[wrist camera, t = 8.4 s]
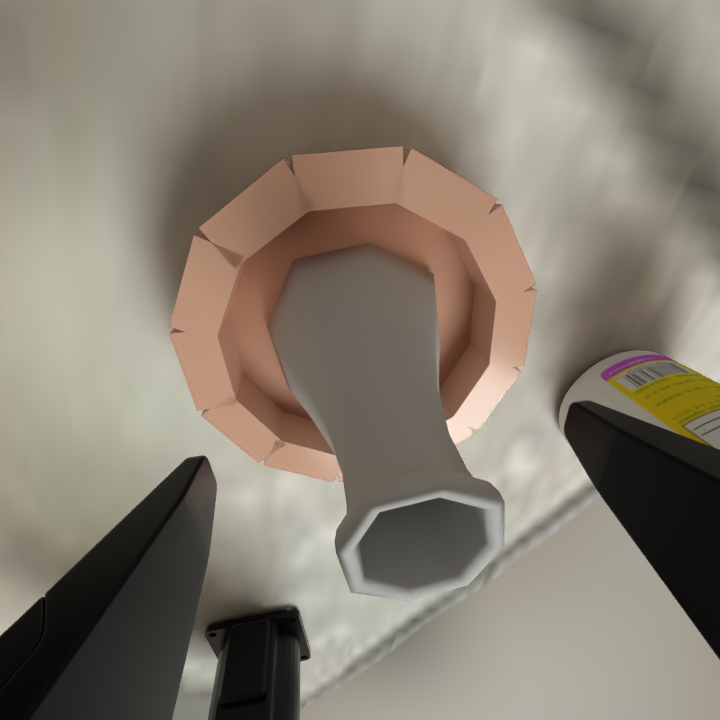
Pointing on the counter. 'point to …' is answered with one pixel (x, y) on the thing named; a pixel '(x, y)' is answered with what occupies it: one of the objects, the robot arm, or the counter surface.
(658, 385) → the supplement bottle
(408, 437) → the flask
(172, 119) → the counter surface
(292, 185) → the dish
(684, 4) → the counter surface
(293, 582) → the counter surface
